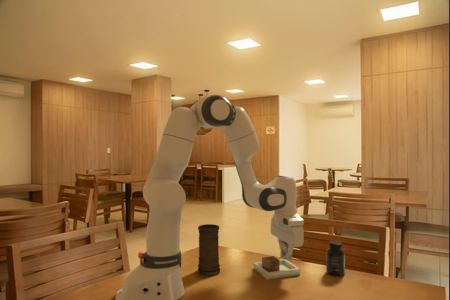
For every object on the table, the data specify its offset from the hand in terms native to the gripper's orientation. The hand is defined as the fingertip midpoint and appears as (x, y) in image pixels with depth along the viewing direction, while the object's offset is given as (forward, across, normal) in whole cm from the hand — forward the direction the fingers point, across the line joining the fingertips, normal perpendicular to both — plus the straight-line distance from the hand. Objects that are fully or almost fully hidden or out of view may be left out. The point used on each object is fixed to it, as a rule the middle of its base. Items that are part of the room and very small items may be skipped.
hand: (285, 251), depth 132 cm
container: (+8, -10, -29) cm, 31 cm away
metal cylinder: (+2, 0, 0) cm, 2 cm away
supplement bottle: (+8, +8, +17) cm, 21 cm away
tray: (+8, -1, -4) cm, 9 cm away
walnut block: (+7, 0, -7) cm, 10 cm away
